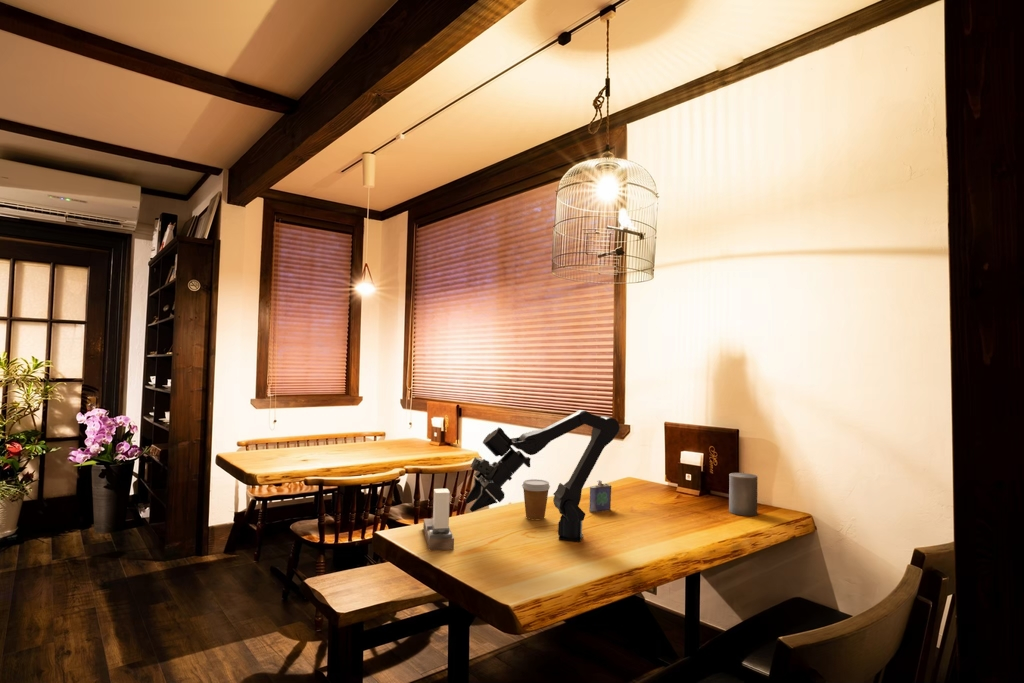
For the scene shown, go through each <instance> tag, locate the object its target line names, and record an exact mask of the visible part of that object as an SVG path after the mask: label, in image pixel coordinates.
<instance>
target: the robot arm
mask: <svg viewBox="0 0 1024 683" xmlns="http://www.w3.org/2000/svg"><path fill="white" fill-rule="evenodd" d="M583 425H586V426H589V427H590V428H591V427H592V430H591V436H590V441H589V442H588V445H587V447H586V449H585V450H584V452H583V454H582V456H581V458H580V459H579V461H578V463H577V464H576V467H575V468H574V470H573V472H572V474H571V476H570V477H569V479H568V481H566V483H564V484H563V483H561V482H560V483H559V484H558V486H557V488H556V491H555V492H554V493H552V495H554V497H553V498H552V499H553V504H554V505H553V506H555V508H556V509H558V512H559V515H561V516H560V519H559V520H558V523H557V524H558V525H557V529H558V530H557V534H558V535H557V536H558V540H560V539H562V540H563V541H571V542H581V541H582V538H583V537H584V534H583V521H584V520H585V517H586V513H585V512H584V511H583V509H581V507H580V503H581V499H582V490H583V488H584V486H585V484H586V482H587V481H588V478H589V477H590V475H591V473H592V471H593V469H594V467H595V466H596V464H597V462H598V460H599V458H600V456H601V454H602V452H603V451H604V449H605V447H607V446H608V445H609V444H610V443H612V441H613V440H614V439H615V437H616V436H617V435H618V434H619V432H620V428H621V427H620V424H619V421H618V420H617V419H615V418H614V417H610V416H606V415H601V416H598V415H595V414H594V413H591V412H588V411H587V410H583V409H579V410H577V411H575V412H574V413H571V414H570V415H568V416H566V417H564V418H562V419H560V420H557V421H556V422H554V423H552V424H550V425H548V426H546V427H544V428H541V429H535V430H532V431H528V432H525V433H522V434H521V435H520V436H519V437H511V438H510V437H509V436H508V435H507V434H506V433H505V431H504V429H502V428H501V427H499V426H498V427H497V428H495V429H494V430H493V431H492V432H490V433H488V434H487V435H486V436H485V438H484V439H483V441H482V444H483V445H484V446H485V447H486V448H487V449H488V450H489V451H490V452H491V453H492V454H493V456H494V457H501V458H500V459H499V460H498V461H494V462H492V463H490V461H489V460H486V459H485V458H484V459H480V458H478V457H476V456H475V457H474V459H473V461H472V463H471V465H470V468H471V469H472V470H474V471H475V473H474V477H473V485H472V487H471V490H470V491H469V493H468V494H467V496H466V498H465V500H464V502H465V504H469V503H471V502H472V505H471V506H470V508H469V511H471V513H473V512H476V511H478V510H480V509H483V508H485V507H489V506H491V505H494V504H497V503H501V502H502V501H503V500H504V498H505V492H504V491H503V490H502V489H503V488H502V487H503V486H504V485H505V483H506V482H507V481H511V480H512V479H513V477H512V476H513V475H515V473H516V472H517V471H518V470H519V469H520V467H522V466H523V465H525V466H526V468H531V460H532V459H531V457H529V456H525V454H527V455H530V456H533V455H536V454H538V453H539V452H540V451H542V450H543V449H544V448H546V447H547V445H548V444H550V443H551V442H552V441H554V440H555V439H558V438H560V437H562V436H563V435H565V434H568V433H570V432H571V431H574V430H575V429H577V428H580V427H581V426H583ZM513 447H514V448H515V449H517V451H516V450H515V449H514V448H513ZM521 451H522V452H521ZM523 453H525V454H523ZM562 540H561V541H562Z"/></svg>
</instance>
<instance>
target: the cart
mask: <svg viewBox="0 0 1024 683" xmlns="http://www.w3.org/2000/svg"><path fill="white" fill-rule="evenodd" d="M450 494H451V492H450V490H449V489H448V488H434V489H433V506H432V519H433V524H432V530H433V534H439V533H440V532H443V534H449V532H450V530H451V529H450V530H449V528H450V496H451V495H450Z"/></svg>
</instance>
